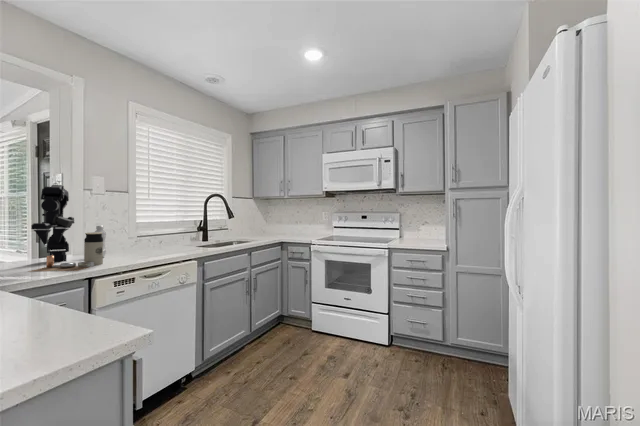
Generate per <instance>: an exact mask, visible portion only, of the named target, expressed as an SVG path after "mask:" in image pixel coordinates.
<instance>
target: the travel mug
mask: <svg viewBox="0 0 640 426" xmlns="http://www.w3.org/2000/svg"><path fill="white" fill-rule="evenodd" d="M83 241H84V247H83V250H84V251H83V253H84V255H83V262H94V266H101V265H103V263H104V257H103V238H102V232H95V231H94V232H85V238H84V240H83Z"/></svg>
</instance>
